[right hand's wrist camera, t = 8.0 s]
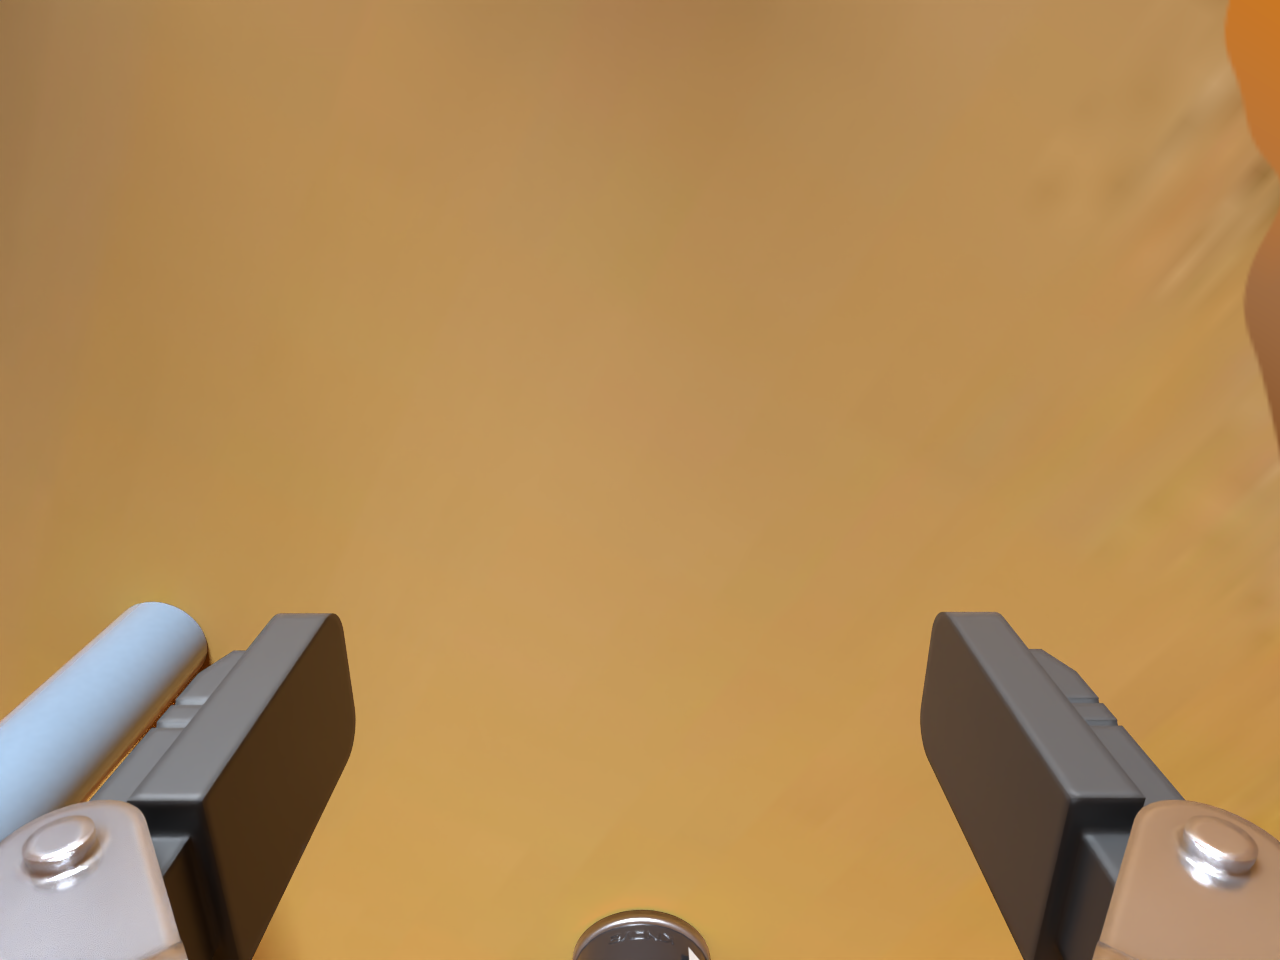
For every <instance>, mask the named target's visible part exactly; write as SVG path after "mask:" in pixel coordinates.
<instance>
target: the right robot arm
mask: <svg viewBox="0 0 1280 960" xmlns="http://www.w3.org/2000/svg"><path fill="white" fill-rule="evenodd" d="M1098 699H1099V698H1098V697H1097V696H1096V694H1095V693H1094V692H1093V691H1092V690H1091V688H1090V687H1089V686H1088V685H1087V684H1086V683H1085V681H1084V680H1083V679H1082V678H1081V677H1080V675H1079V674H1078V673H1077V672H1076V671H1074V670H1073V669H1071V668H1070V667H1068V666H1067V665H1065V664H1064V663H1062V662H1061V661H1059V660H1057V659H1056V658H1054V657H1053V656H1051V655H1050V654H1048V653H1047V652H1045V651H1043V650H1042V649H1028V648H1027V647H1026V645H1025V644H1024V643H1023V641H1022V640H1021V639H1020V638H1019V636H1018V635H1017V634H1016V633H1015V631H1014V630H1013V629H1012V627H1011V626H1010V625H1009V624H1008V622H1007V621H1006V620H1005V619H1004V617H1003V616H1002V615H1001V614H999V613H997V612H941V613H939V614H938V615H937V616H936V618H935V620H934V623H933V628H932V633H931V641H930V648H929V655H928V662H927V669H926V676H925V683H924V690H923V697H922V704H921V713H920V725H921V735H922V741H923V746H924V750H925V753H926V756H927V758H928V760H929V762H930V765H931V767H932V769H933V771H934V773H935V775H936V777H937V779H938V781H939V783H940V785H941V788H942V790H943V792H944V794H945V796H946V798H947V800H948V802H949V804H950V806H951V808H952V811H953V813H954V815H955V817H956V819H957V821H958V823H959V825H960V827H961V829H962V831H963V834H964V836H965V838H966V840H967V842H968V844H969V846H970V848H971V850H972V852H973V854H974V857H975V859H976V861H977V863H978V865H979V867H980V869H981V871H982V873H983V875H984V877H985V880H986V882H987V884H988V886H989V888H990V890H991V892H992V894H993V896H994V898H995V901H996V903H997V905H998V907H999V909H1000V911H1001V913H1002V915H1003V917H1004V919H1005V921H1006V924H1007V926H1008V928H1009V930H1010V932H1011V934H1012V936H1013V938H1014V940H1015V942H1016V944H1017V947H1018V949H1019V951H1020V953H1021V955H1022V957H1023V959H1024V960H1280V842H1279V841H1278V840H1277V839H1275V838H1274V837H1273V836H1271V835H1270V834H1269V833H1267V832H1266V831H1265V830H1263V829H1261V828H1260V827H1258V826H1256V825H1255V824H1253V823H1251V822H1249V821H1247V820H1246V819H1244V818H1242V817H1240V816H1238V815H1235V814H1233V813H1230V812H1228V811H1226V810H1223V809H1220V808H1217V807H1214V806H1211V805H1207V804H1203V803H1198V802H1193V801H1186V800H1185V799H1184V798H1183V797H1182V796H1181V795H1180V794H1179V792H1178V791H1177V790H1176V789H1175V788H1174V786H1173V785H1172V784H1171V783H1170V782H1169V781H1168V779H1167V778H1166V777H1165V776H1164V775H1163V773H1162V772H1161V771H1160V770H1159V769H1158V768H1157V766H1156V765H1155V764H1154V763H1153V762H1152V760H1151V759H1150V758H1149V757H1148V756H1147V755H1146V753H1145V752H1144V751H1143V750H1142V749H1141V747H1140V746H1139V745H1138V744H1137V743H1136V742H1135V740H1134V739H1133V738H1132V737H1131V736H1130V735H1129V733H1128V732H1127V731H1126V730H1125V729H1124V727H1123V726H1118V724H1117V719H1116V718H1115V717H1114V716H1113V714H1112V713H1111V712H1110V711H1109V710H1108V709H1107V707H1106V706H1105V705H1104V704H1103V703H1099V701H1098ZM354 734H355V707H354V700H353V693H352V686H351V680H350V673H349V666H348V659H347V652H346V645H345V638H344V632H343V627H342V623H341V621H340V619H339V617H338V616H337V615H336V614H277V615H275V616H274V617H273V618H272V619H271V620H270V621H269V623H268V624H267V625H266V626H265V628H264V629H263V630H262V631H261V633H260V634H259V635H258V636H257V638H256V639H255V640H254V641H253V643H252V644H251V645H250V646H249V648H248V649H247V650H246V651H232V652H231V653H229V654H228V655H226V656H225V657H223V658H221V659H220V660H218V661H217V662H215V663H214V664H212V665H211V666H209V667H207V668H206V669H204V670H203V671H201V672H200V673H198V674H197V676H196V677H195V678H194V679H193V680H192V681H191V683H190V684H189V685H188V686H187V687H186V688H185V690H184V691H183V692H182V693H181V694H180V695H179V697H178V698H177V699H176V704H175V705H171V706H170V707H169V708H168V709H167V711H166V712H165V713H164V714H163V715H162V716H161V718H160V719H159V720H158V721H157V726H156V728H151V729H150V730H149V732H148V733H147V734H146V735H145V736H144V737H143V739H142V740H141V741H140V742H139V743H138V745H137V746H136V747H135V748H134V749H133V750H132V752H131V753H130V754H129V755H128V756H127V757H126V759H125V760H124V761H123V762H122V763H121V764H120V766H119V767H118V768H117V769H116V770H115V771H114V773H113V774H112V775H111V776H110V777H109V778H108V780H107V781H106V782H105V783H104V784H103V785H102V787H101V788H100V789H99V790H98V791H97V792H96V794H95V795H94V796H93V797H92V798H91V799H90V801H87V802H82V803H77V804H73V805H69V806H66V807H63V808H60V809H57V810H54V811H52V812H50V813H47V814H45V815H42V816H40V817H38V818H36V819H34V820H33V821H31V822H29V823H27V824H25V825H24V826H22V827H20V828H19V829H17V830H15V831H14V832H13V833H11V834H10V835H9V836H7V837H6V838H5V839H3V840H2V841H1V842H0V960H252V958H253V956H254V953H255V951H256V949H257V947H258V945H259V943H260V941H261V939H262V937H263V935H264V933H265V931H266V929H267V927H268V925H269V922H270V920H271V918H272V916H273V914H274V912H275V910H276V908H277V906H278V904H279V902H280V900H281V898H282V896H283V894H284V891H285V889H286V887H287V885H288V883H289V881H290V879H291V877H292V875H293V873H294V871H295V869H296V867H297V865H298V863H299V860H300V858H301V856H302V854H303V852H304V850H305V848H306V846H307V844H308V842H309V840H310V838H311V836H312V834H313V832H314V829H315V827H316V825H317V823H318V821H319V819H320V817H321V815H322V813H323V811H324V809H325V807H326V805H327V803H328V801H329V798H330V796H331V794H332V792H333V790H334V788H335V786H336V784H337V782H338V780H339V778H340V776H341V774H342V772H343V770H344V767H345V765H346V763H347V761H348V759H349V756H350V753H351V750H352V746H353V741H354ZM573 960H710V954H709V950H708V947H707V944H706V942H705V940H704V939H703V937H702V936H701V935H700V933H699V932H698V931H697V930H696V929H695V928H693V927H692V926H691V925H690V924H688V923H687V922H685V921H683V920H682V919H680V918H677V917H675V916H673V915H670V914H666V913H663V912H658V911H650V910H633V911H625V912H620V913H617V914H613V915H610V916H608V917H606V918H603V919H601V920H600V921H598V922H596V923H595V924H593V925H592V926H591V927H590V928H588V929H587V930H586V931H585V932H584V933H583V935H582V936H581V937H580V939H579V940H578V942H577V944H576V946H575V950H574V954H573Z"/></svg>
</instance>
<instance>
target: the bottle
mask: <svg viewBox="0 0 1280 960" xmlns="http://www.w3.org/2000/svg"><path fill="white" fill-rule="evenodd" d="M206 656H207V642H206V638H205V635H204V633H203V631H202V629H201V628H200V626H199V625H198V624H197V622H196V621H195V620H194V619H193V618H192V617H191V616H189V615H188V614H187V613H185V612H184V611H182V610H180V609H179V608H176V607H174V606H171V605H168V604H165V603H159V602H146V603H140V604H137V605H134V606H132V607H130V608H128V609H127V610H126V611H124V612H123V613H122V614H121V615H120V616H119V617H118V618H116V619H115V620H114V621H113V622H112V623H111V624H110V625H109V626H107V627H106V628H105V629H104V630H103V631H102V632H101V633H99V634H98V635H97V636H96V637H95V638H94V639H93V640H92V641H90V642H89V643H88V644H87V645H86V646H85V647H84V648H82V649H81V650H80V651H79V652H78V653H77V654H76V655H75V656H73V657H72V658H71V659H70V660H69V661H68V662H67V663H65V664H64V665H63V666H62V667H61V668H60V669H59V670H58V671H56V672H55V673H54V674H53V675H52V676H51V677H50V678H48V679H47V680H46V681H45V682H44V683H43V684H42V685H41V686H39V687H38V688H37V689H36V690H35V691H34V692H33V693H31V694H30V695H29V696H28V697H27V698H26V699H25V700H24V701H22V702H21V703H20V704H19V705H18V706H17V707H16V708H14V709H13V710H12V711H11V712H10V713H9V714H8V715H7V716H5V717H4V718H3V719H2V720H1V721H0V842H1V841H2V840H3V839H5V838H6V837H7V836H9V835H10V834H11V833H13V832H14V831H15V830H17V829H19V828H20V827H22V826H24V825H25V824H27V823H29V822H31V821H33V820H34V819H36V818H38V817H40V816H42V815H45V814H47V813H50V812H52V811H54V810H57V809H60V808H63V807H66V806H69V805H73V804H77V803H82V802H86V801H87V800H88V799H89V797H90V796H91V795H92V794H93V793H94V792H95V790H96V789H97V788H98V787H99V786H100V785H101V783H102V782H103V781H104V780H105V779H106V778H107V776H108V775H109V774H110V773H111V772H112V771H113V769H114V768H115V767H116V766H117V765H118V764H119V762H120V761H121V760H122V759H123V758H124V757H125V755H126V754H127V753H128V752H129V751H130V750H131V748H132V747H133V746H134V745H135V744H136V743H137V742H138V740H139V739H140V738H141V737H142V736H143V735H144V733H145V732H146V731H147V730H148V729H149V728H150V726H151V725H152V724H153V723H154V722H155V721H156V719H157V718H158V717H159V716H160V715H161V714H162V712H163V711H164V710H165V709H166V708H167V707H168V705H169V704H170V703H171V702H172V701H173V700H174V698H175V697H176V696H177V695H178V694H179V693H180V691H181V690H182V689H183V688H184V687H185V686H186V684H187V683H188V682H189V681H190V680H191V679H192V677H193V676H194V675H195V674H196V673H197V672H198V670H199V669H200V668H201V667H202V665H203V664H204V662H205V659H206Z"/></svg>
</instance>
